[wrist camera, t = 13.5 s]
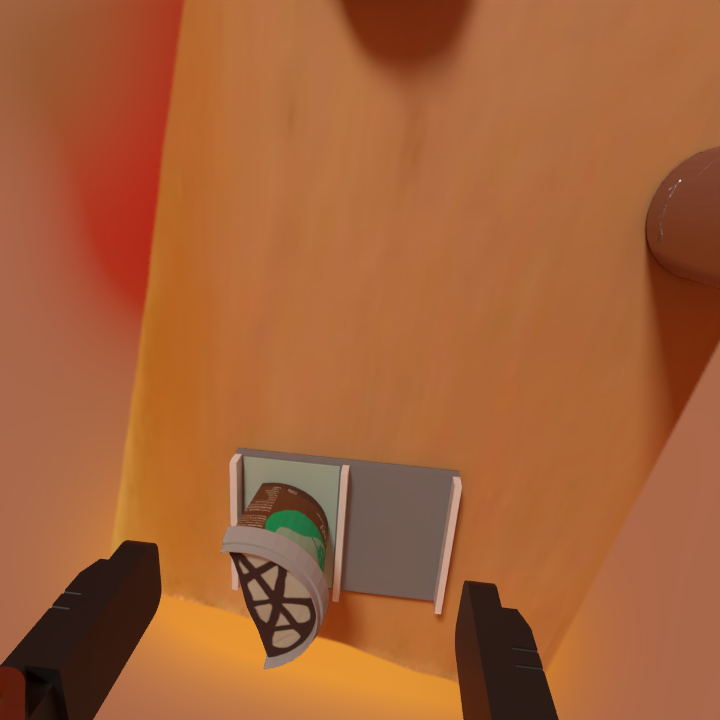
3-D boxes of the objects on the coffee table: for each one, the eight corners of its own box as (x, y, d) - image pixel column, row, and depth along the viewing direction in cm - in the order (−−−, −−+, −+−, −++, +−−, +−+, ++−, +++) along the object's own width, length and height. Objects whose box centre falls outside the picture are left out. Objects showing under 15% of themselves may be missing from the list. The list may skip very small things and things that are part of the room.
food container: (353, 570, 46) (342, 667, 36) (292, 577, 47) (265, 674, 37) (323, 458, 42) (301, 534, 33) (257, 469, 43) (217, 545, 33)
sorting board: (458, 470, 43) (462, 486, 40) (438, 593, 47) (440, 614, 45) (238, 448, 44) (229, 462, 41) (240, 570, 48) (232, 589, 46)
